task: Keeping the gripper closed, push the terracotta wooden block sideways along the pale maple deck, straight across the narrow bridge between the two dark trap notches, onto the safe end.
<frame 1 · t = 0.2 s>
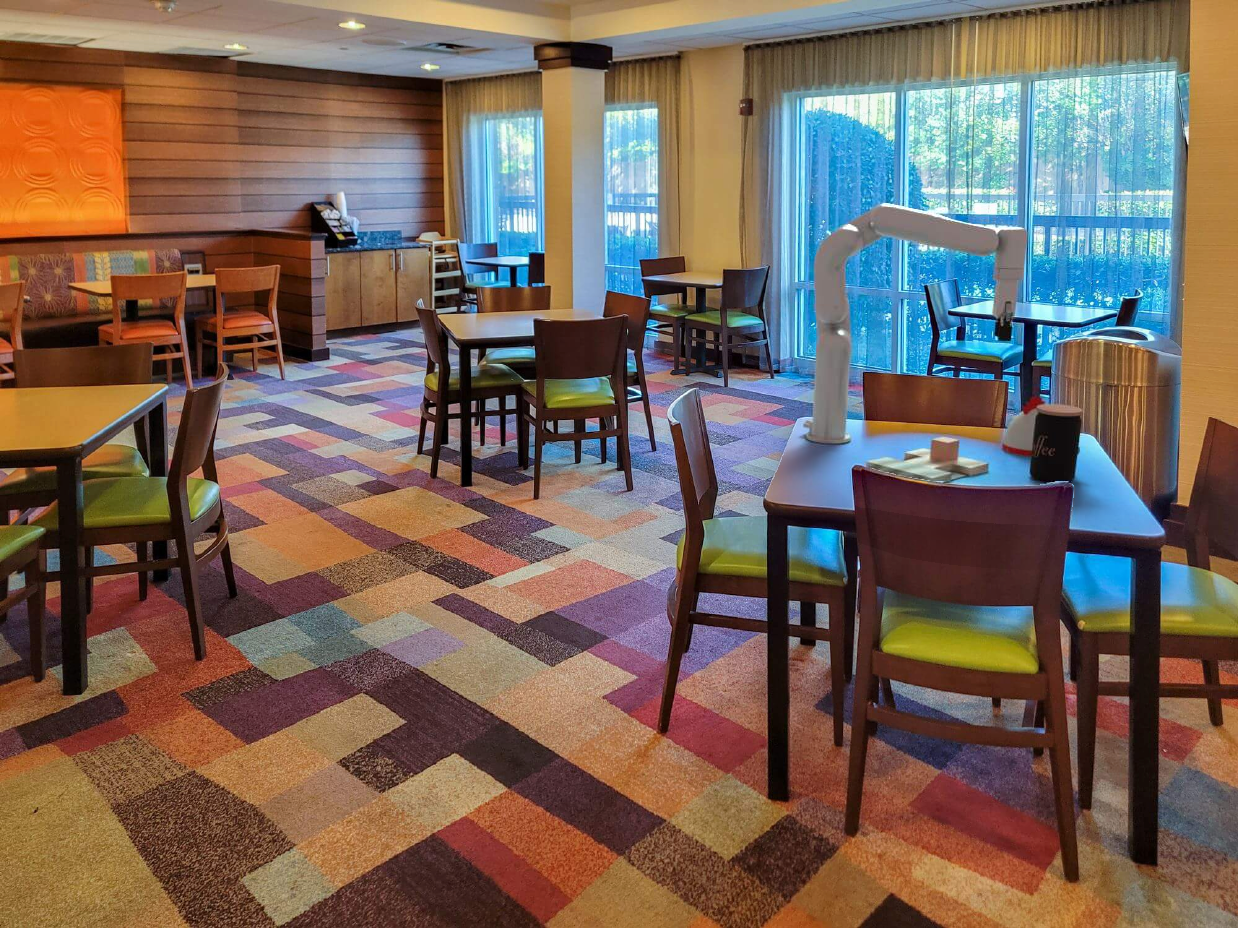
hand: (1002, 338, 286), 31 cm above the table, tool pointing down, fingers open, 9 cm apart
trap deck: (926, 469, 271), on the table
grapes: (1059, 471, 271), on the table
coffee jar: (1051, 479, 264), on the table
block: (943, 458, 274), point 2 cm above the table, touching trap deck
kitchen timer: (1028, 451, 293), on the table
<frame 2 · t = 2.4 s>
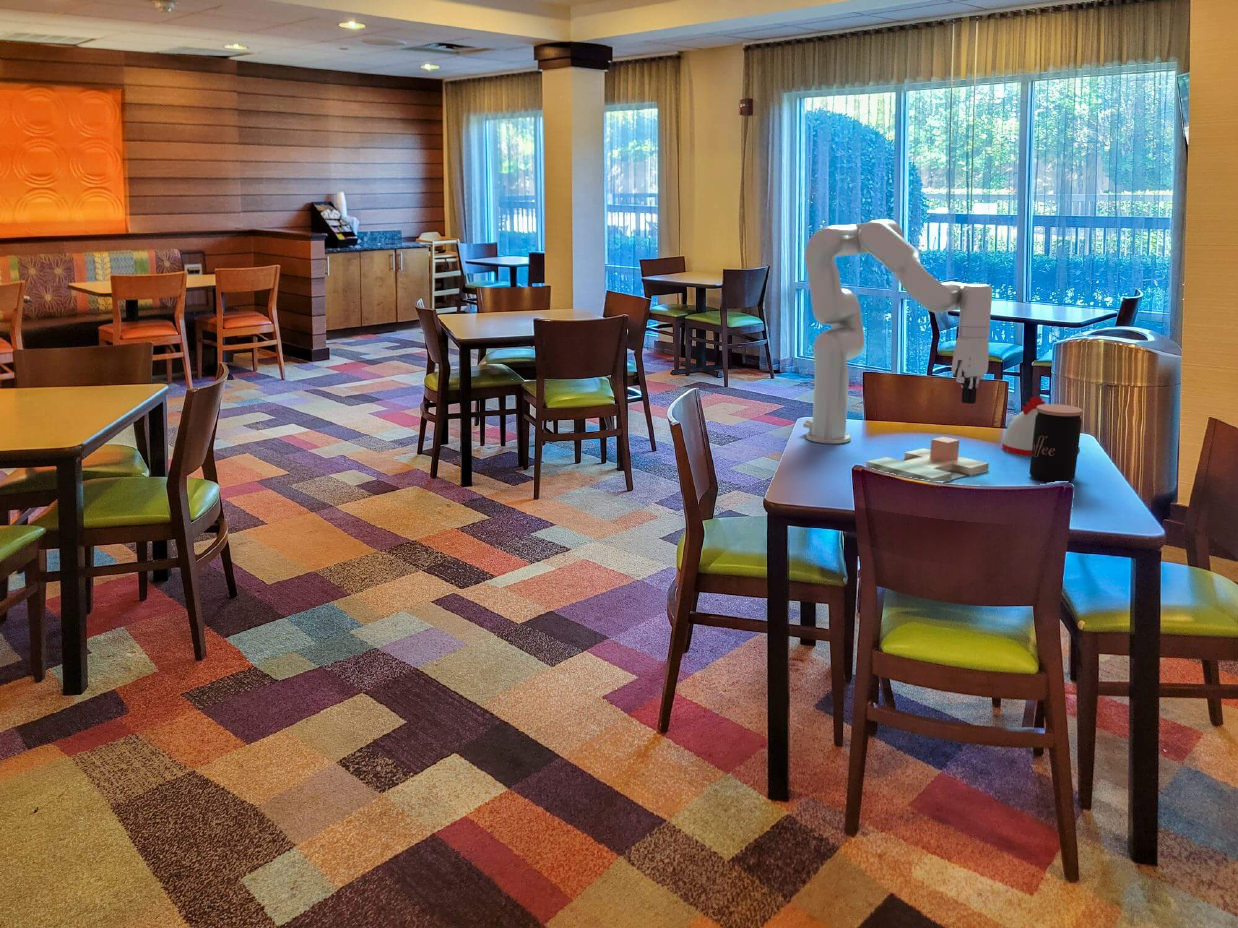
hand: (968, 402, 275), 16 cm above the table, tool pointing down, fingers closed
nothing on the table moved.
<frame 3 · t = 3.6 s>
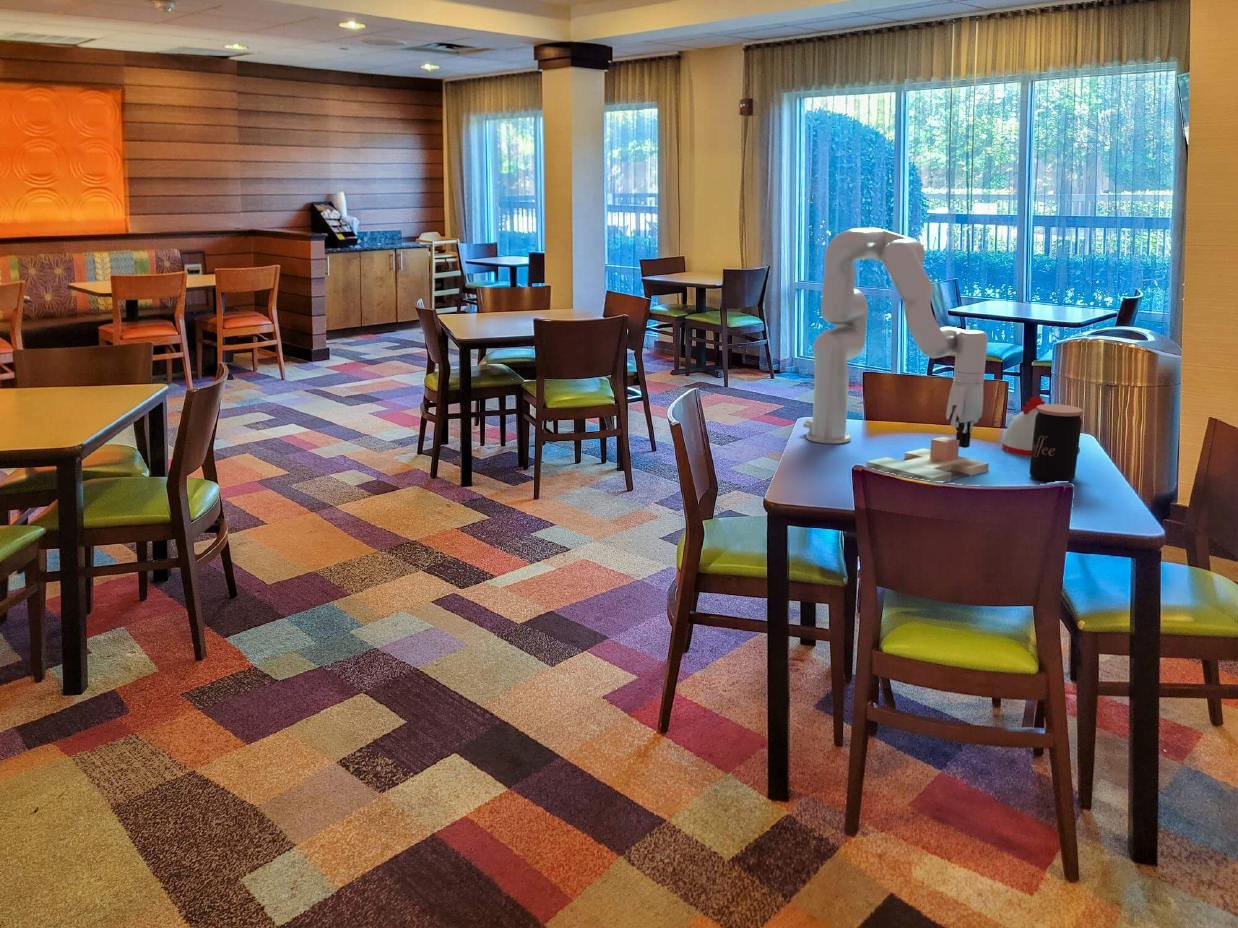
hand: (962, 446, 279), 4 cm above the table, tool pointing down, fingers closed
nothing on the table moved.
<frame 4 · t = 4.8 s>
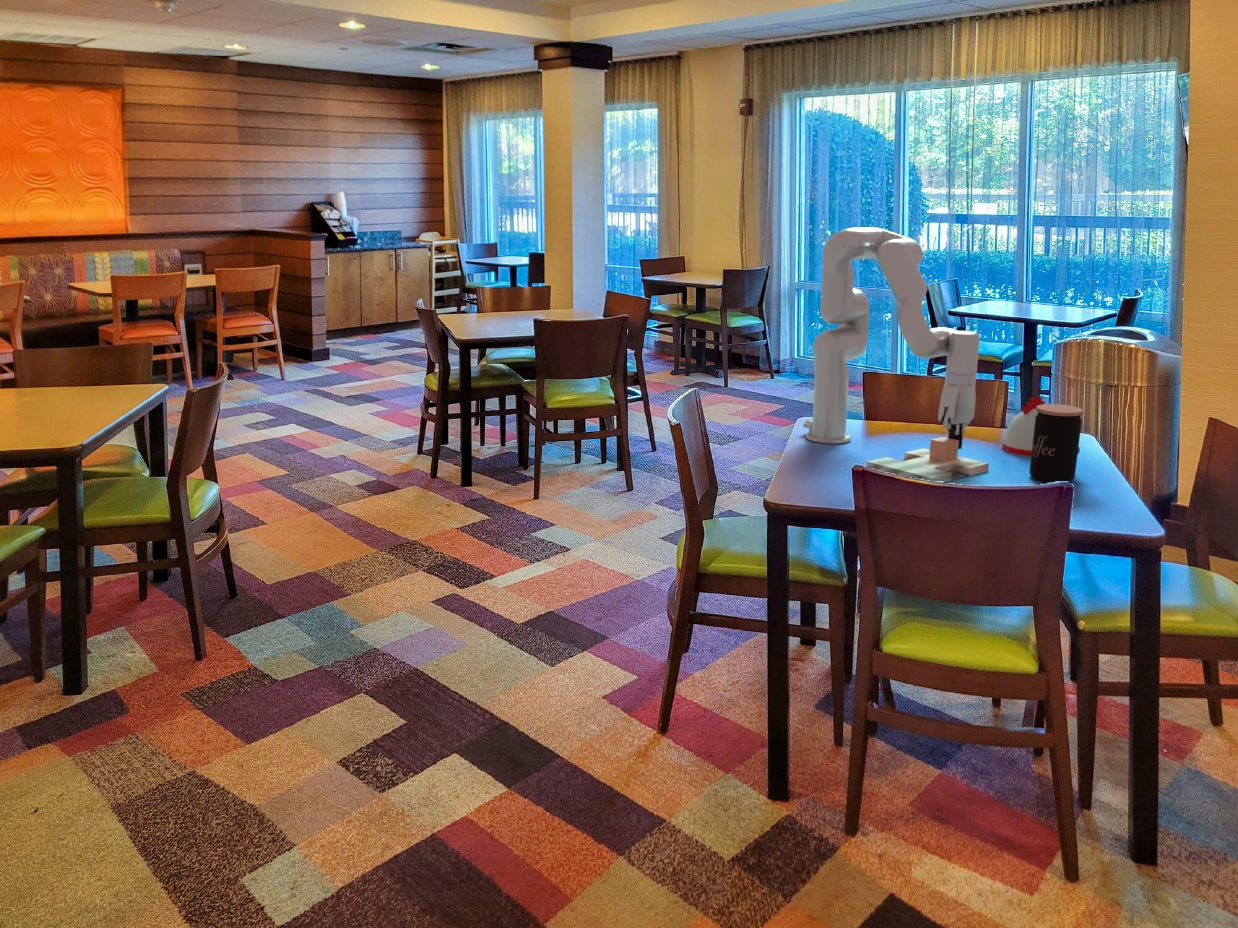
hand: (954, 448, 276), 4 cm above the table, tool pointing down, fingers closed
block: (943, 458, 274), point 2 cm above the table, touching gripper
everything else where it was.
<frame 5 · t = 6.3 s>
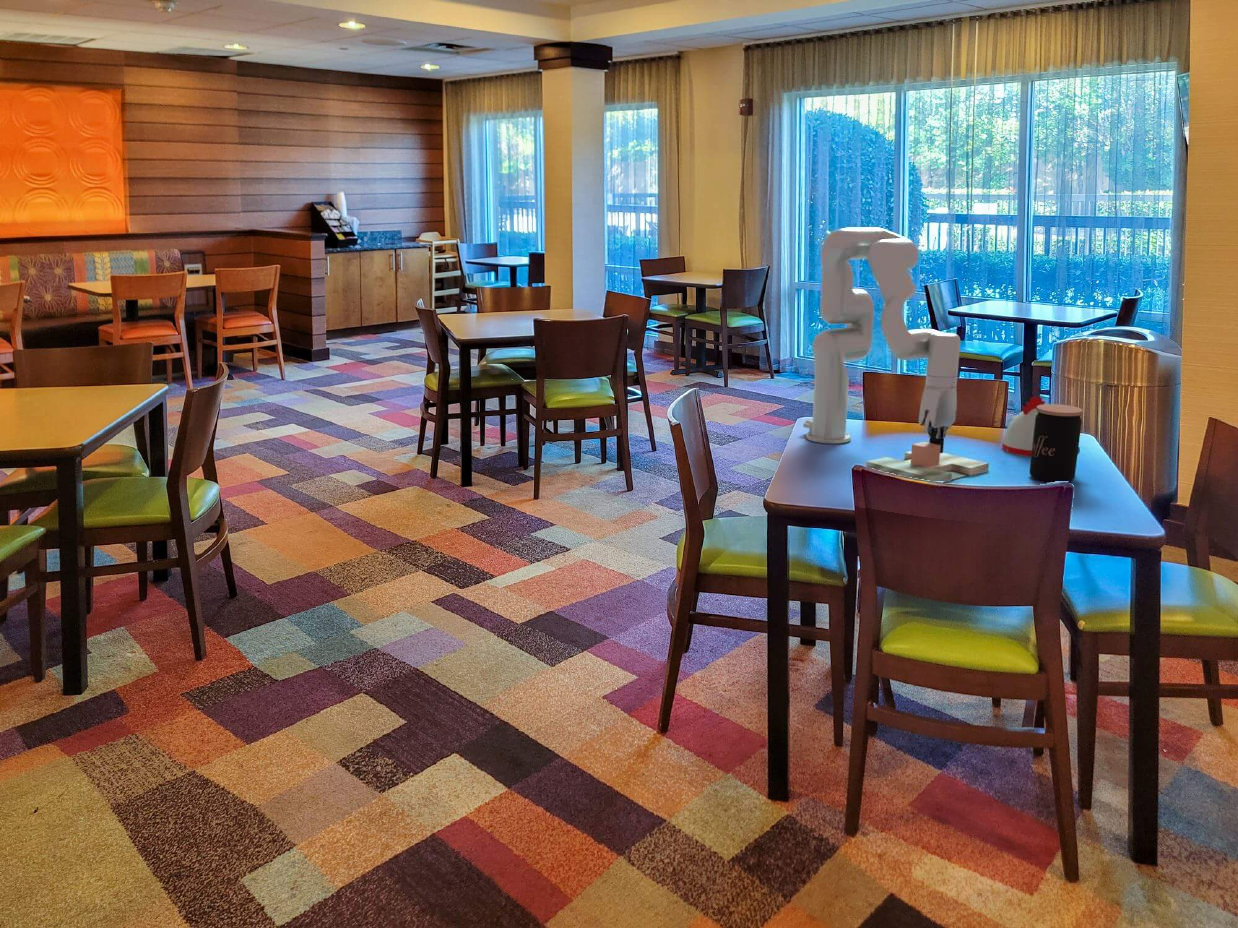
hand: (935, 452, 271), 4 cm above the table, tool pointing down, fingers closed
block: (924, 463, 269), point 2 cm above the table, touching gripper
everything else where it was.
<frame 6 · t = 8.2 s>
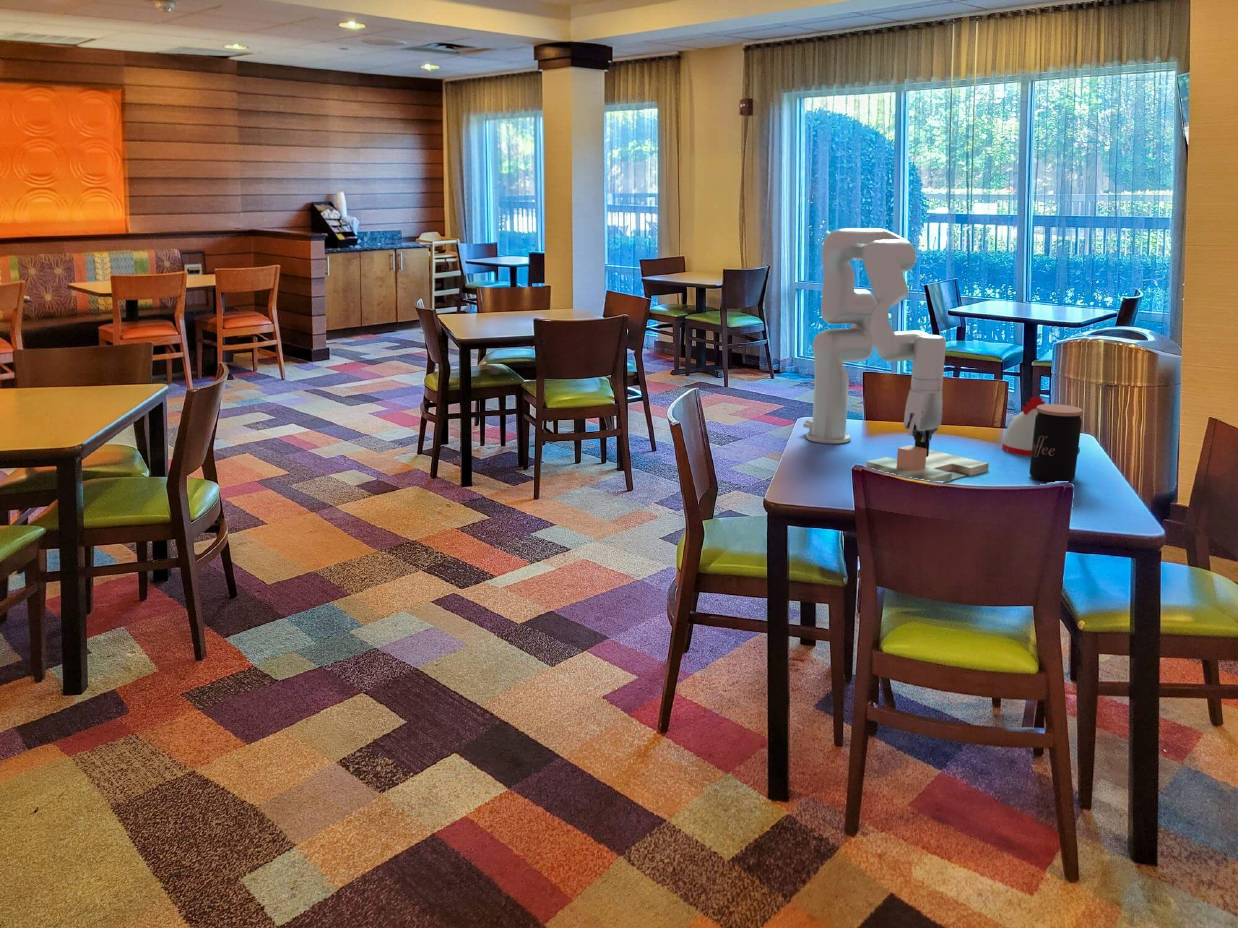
hand: (921, 455, 267), 4 cm above the table, tool pointing down, fingers closed
block: (910, 467, 265), point 2 cm above the table, touching gripper, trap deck
everything else where it was.
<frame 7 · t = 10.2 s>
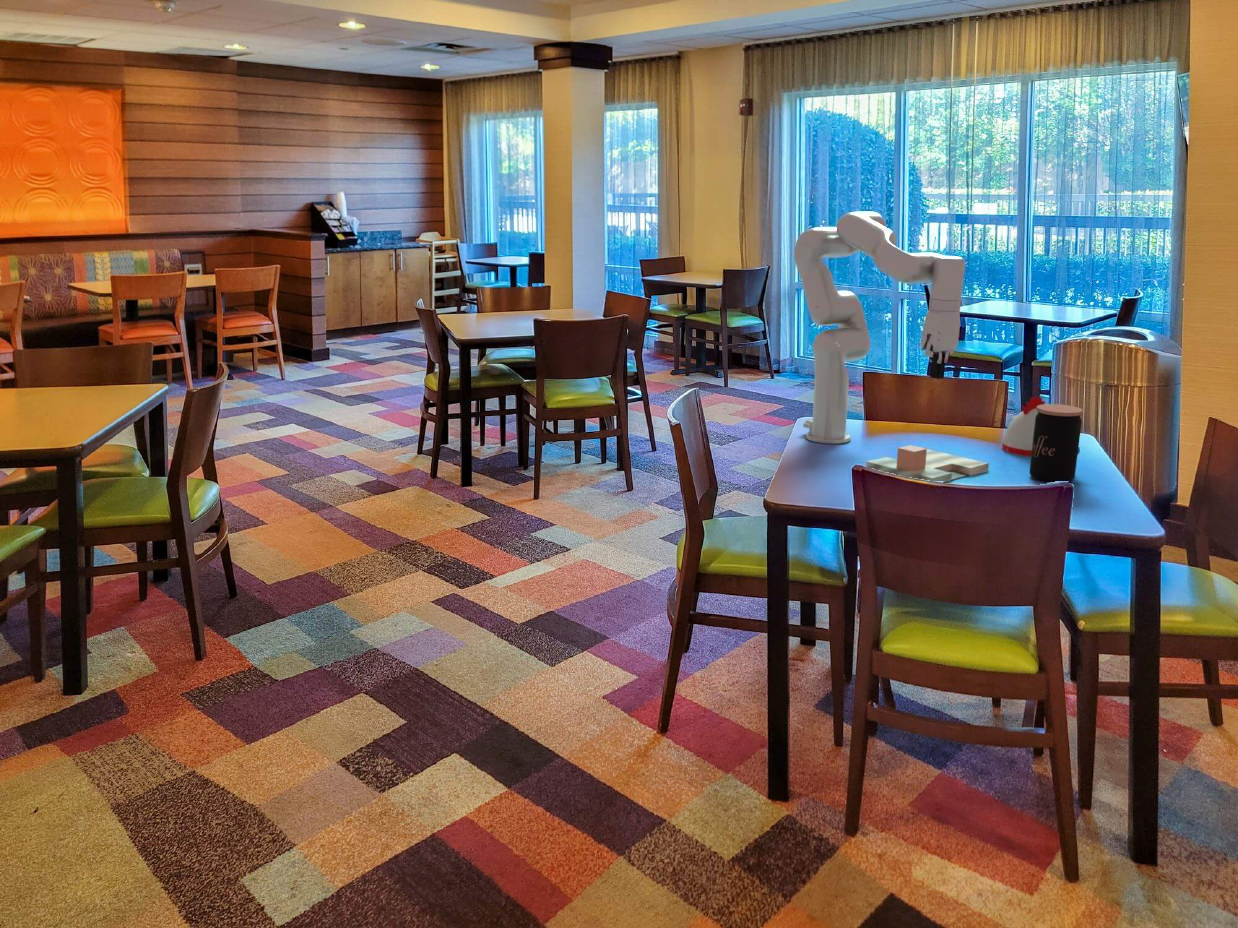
hand: (936, 377, 270), 23 cm above the table, tool pointing down, fingers closed
block: (910, 467, 265), point 2 cm above the table, touching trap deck
everything else where it was.
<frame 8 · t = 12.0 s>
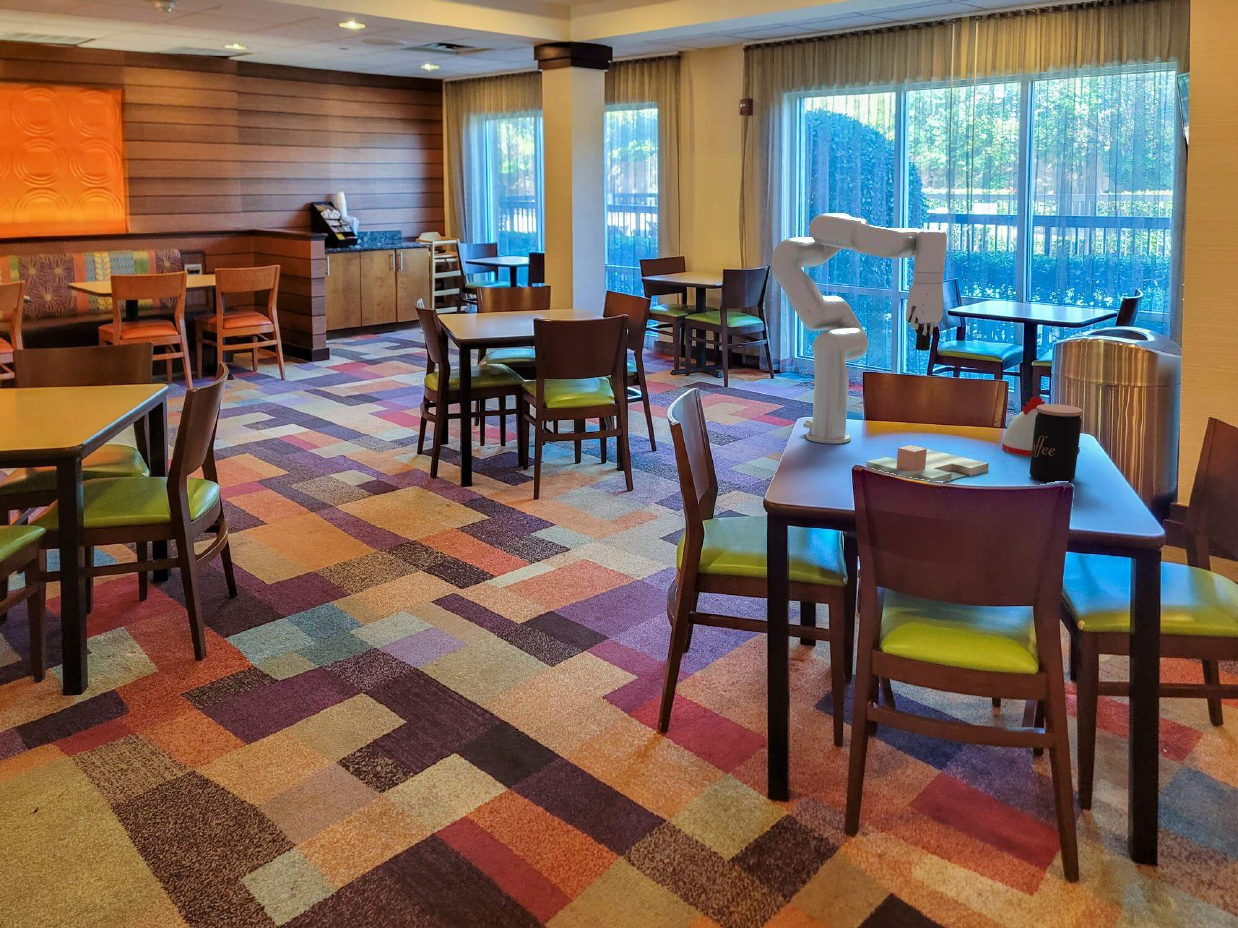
hand: (922, 349, 276), 29 cm above the table, tool pointing down, fingers closed
nothing on the table moved.
at the end: block inside the target area on the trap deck (0.8 cm from its centre), point 2.0 cm above the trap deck's base; block tilted 0°; the gripper is holding nothing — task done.
